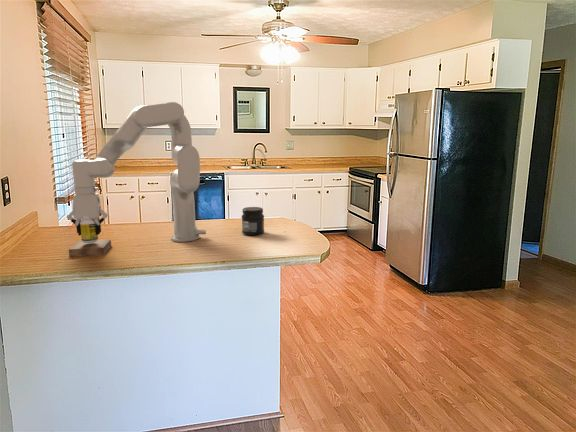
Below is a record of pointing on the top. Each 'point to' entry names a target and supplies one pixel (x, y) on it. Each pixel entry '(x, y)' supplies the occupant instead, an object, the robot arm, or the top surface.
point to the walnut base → (90, 248)
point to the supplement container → (252, 221)
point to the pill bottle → (88, 230)
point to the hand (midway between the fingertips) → (89, 233)
